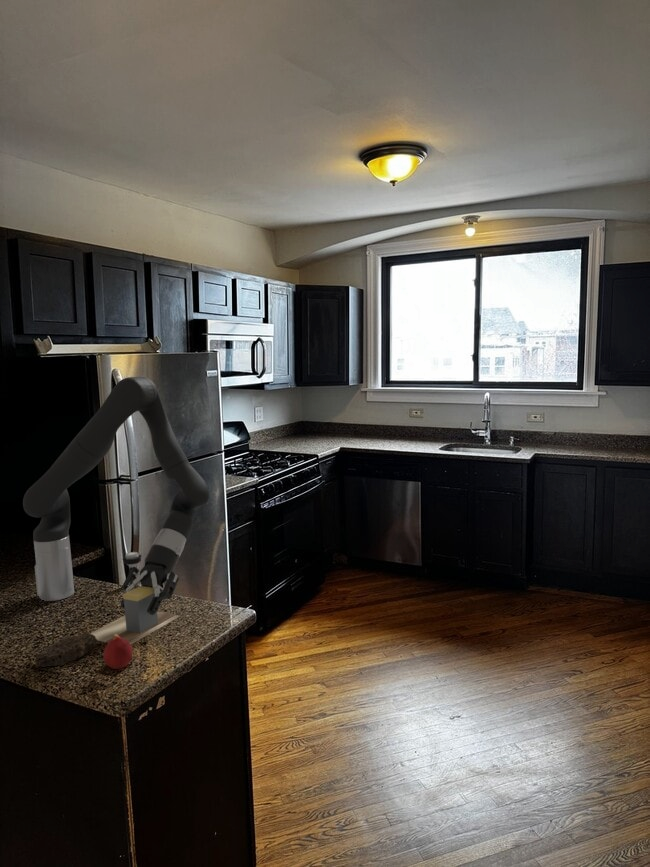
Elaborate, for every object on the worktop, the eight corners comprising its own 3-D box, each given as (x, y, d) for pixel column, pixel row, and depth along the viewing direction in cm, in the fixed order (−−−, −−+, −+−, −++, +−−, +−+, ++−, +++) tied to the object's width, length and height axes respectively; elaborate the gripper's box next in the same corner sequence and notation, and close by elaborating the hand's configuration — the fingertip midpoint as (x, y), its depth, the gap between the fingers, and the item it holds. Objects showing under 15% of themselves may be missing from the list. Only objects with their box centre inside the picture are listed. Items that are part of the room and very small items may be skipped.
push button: (120, 585, 177) (118, 553, 176) (138, 580, 181) (135, 549, 180) (129, 591, 172) (126, 557, 171) (146, 586, 175) (143, 553, 174)
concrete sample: (103, 649, 135) (101, 628, 135) (79, 671, 125) (76, 648, 125) (58, 648, 137) (55, 627, 137) (30, 670, 127) (27, 647, 127)
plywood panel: (83, 641, 139) (83, 636, 139) (139, 612, 155) (138, 607, 155) (127, 651, 133) (126, 645, 133) (180, 620, 149) (180, 615, 149)
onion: (126, 661, 129) (123, 625, 128) (139, 669, 124) (135, 633, 124) (100, 671, 125) (97, 635, 124) (112, 680, 120) (109, 643, 120)
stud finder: (126, 630, 141) (122, 593, 140) (144, 620, 146) (141, 585, 146) (140, 633, 139) (136, 596, 138) (158, 623, 144) (155, 587, 143)
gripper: (136, 541, 151) (105, 600, 142) (180, 545, 144) (150, 608, 135) (153, 555, 156) (124, 613, 147) (195, 560, 149) (168, 621, 140)
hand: (136, 611), depth 141 cm, fingers open, 8 cm apart
